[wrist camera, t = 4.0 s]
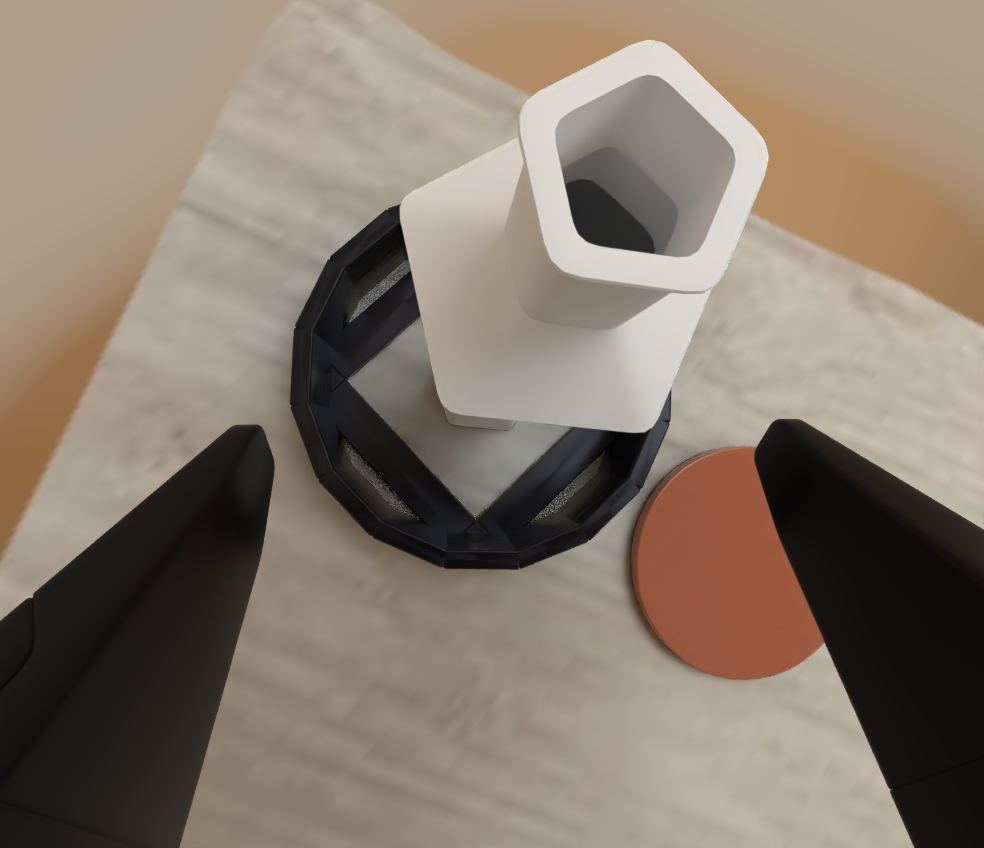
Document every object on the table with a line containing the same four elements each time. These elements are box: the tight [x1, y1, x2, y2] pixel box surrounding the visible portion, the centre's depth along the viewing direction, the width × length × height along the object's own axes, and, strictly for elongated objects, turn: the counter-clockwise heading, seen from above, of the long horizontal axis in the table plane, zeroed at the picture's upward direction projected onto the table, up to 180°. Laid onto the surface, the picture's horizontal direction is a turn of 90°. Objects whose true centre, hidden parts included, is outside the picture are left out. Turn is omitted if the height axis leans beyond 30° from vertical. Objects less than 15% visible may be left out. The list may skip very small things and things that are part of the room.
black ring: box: [290, 205, 671, 570], centre depth 17 cm, size 12×12×3 cm
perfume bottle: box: [400, 40, 769, 433], centre depth 11 cm, size 5×4×15 cm
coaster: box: [631, 447, 824, 680], centre depth 19 cm, size 9×9×1 cm
